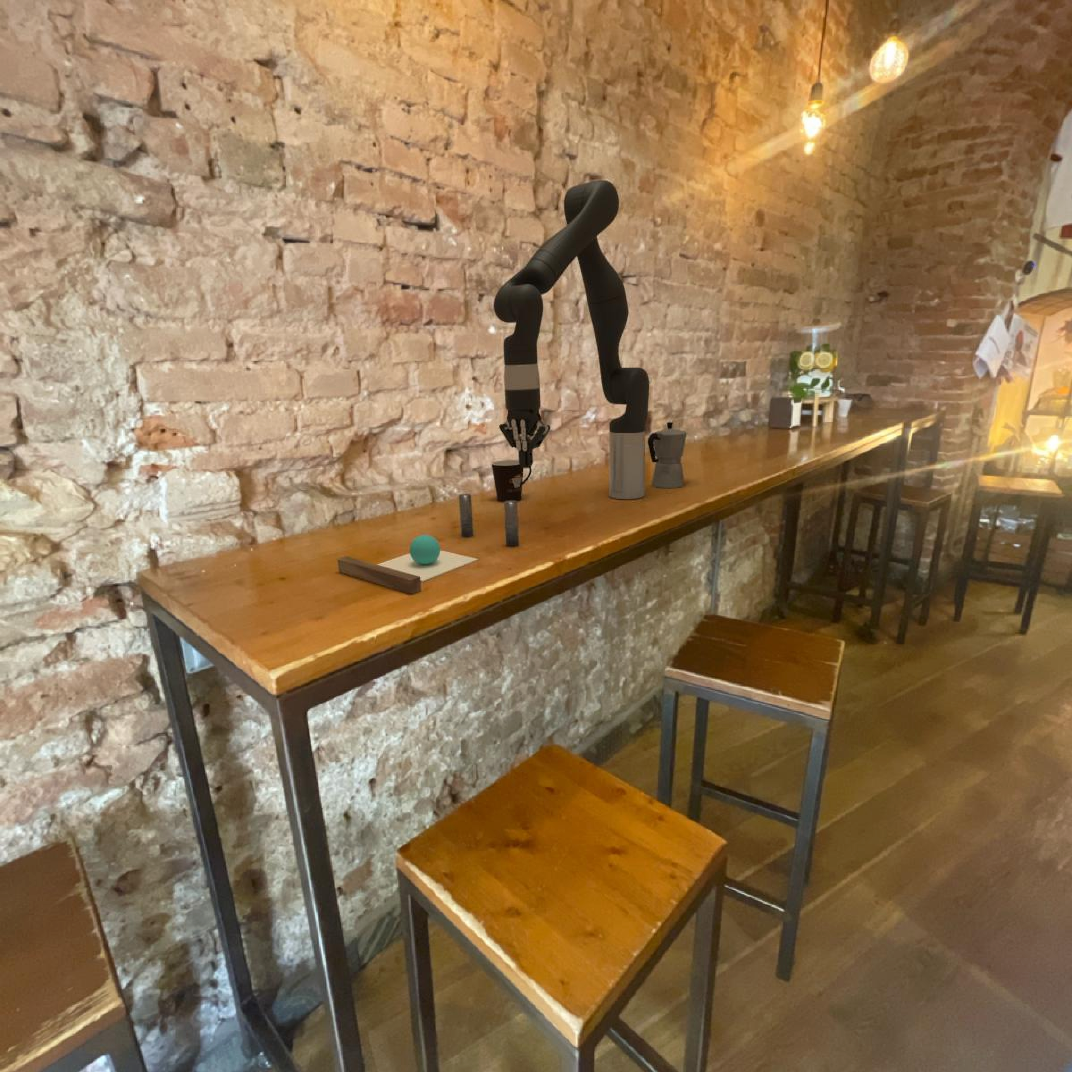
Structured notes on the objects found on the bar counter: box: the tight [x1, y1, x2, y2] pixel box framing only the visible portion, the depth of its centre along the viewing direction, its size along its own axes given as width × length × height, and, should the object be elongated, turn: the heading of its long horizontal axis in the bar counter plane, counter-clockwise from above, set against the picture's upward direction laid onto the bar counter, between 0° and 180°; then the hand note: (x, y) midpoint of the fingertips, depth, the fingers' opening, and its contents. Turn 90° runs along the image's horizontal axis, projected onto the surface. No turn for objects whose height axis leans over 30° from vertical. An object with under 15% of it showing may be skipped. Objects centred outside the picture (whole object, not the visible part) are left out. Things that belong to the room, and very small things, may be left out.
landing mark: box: [376, 549, 479, 583], centre depth 116 cm, size 14×14×1 cm
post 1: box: [458, 493, 474, 538], centre depth 132 cm, size 3×3×9 cm
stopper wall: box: [337, 555, 422, 595], centre depth 107 cm, size 2×20×2 cm, turn 52°
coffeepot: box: [647, 421, 688, 490], centre depth 173 cm, size 15×9×18 cm, turn 129°
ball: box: [409, 534, 441, 565], centre depth 115 cm, size 6×6×6 cm
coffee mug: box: [491, 459, 533, 503], centre depth 164 cm, size 12×9×10 cm
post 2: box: [503, 500, 520, 548], centre depth 124 cm, size 3×3×9 cm
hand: (526, 467), depth 135 cm, fingers closed
